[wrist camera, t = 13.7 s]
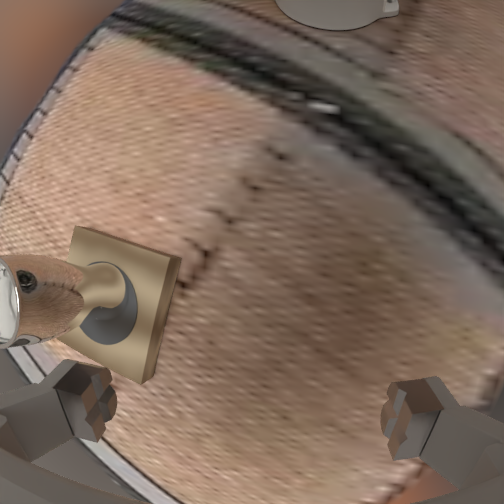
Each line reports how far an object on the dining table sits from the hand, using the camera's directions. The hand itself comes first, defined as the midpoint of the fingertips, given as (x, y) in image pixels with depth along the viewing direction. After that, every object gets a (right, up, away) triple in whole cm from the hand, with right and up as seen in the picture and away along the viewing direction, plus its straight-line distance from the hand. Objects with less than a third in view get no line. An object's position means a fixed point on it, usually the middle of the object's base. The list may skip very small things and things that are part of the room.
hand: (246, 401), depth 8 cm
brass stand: (-15, -2, +26) cm, 31 cm away
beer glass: (-15, 0, +23) cm, 28 cm away
